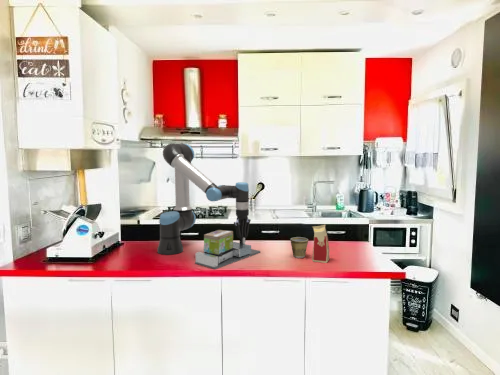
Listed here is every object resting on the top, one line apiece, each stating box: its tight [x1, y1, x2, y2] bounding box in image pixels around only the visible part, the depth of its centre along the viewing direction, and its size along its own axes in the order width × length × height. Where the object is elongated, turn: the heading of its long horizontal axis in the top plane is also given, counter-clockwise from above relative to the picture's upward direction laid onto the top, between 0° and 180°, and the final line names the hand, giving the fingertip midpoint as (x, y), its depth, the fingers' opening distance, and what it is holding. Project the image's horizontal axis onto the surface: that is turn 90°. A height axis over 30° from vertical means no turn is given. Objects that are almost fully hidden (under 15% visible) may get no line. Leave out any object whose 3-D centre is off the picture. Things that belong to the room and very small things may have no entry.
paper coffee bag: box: [311, 224, 330, 264], centre depth 192 cm, size 9×9×20 cm
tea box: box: [203, 229, 234, 264], centre depth 191 cm, size 15×10×15 cm, turn 153°
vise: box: [194, 248, 261, 270], centre depth 197 cm, size 15×38×6 cm, turn 141°
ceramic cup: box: [290, 236, 309, 259], centre depth 201 cm, size 13×10×10 cm
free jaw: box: [233, 241, 252, 257], centre depth 202 cm, size 14×10×4 cm
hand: (242, 248), depth 207 cm, fingers closed
